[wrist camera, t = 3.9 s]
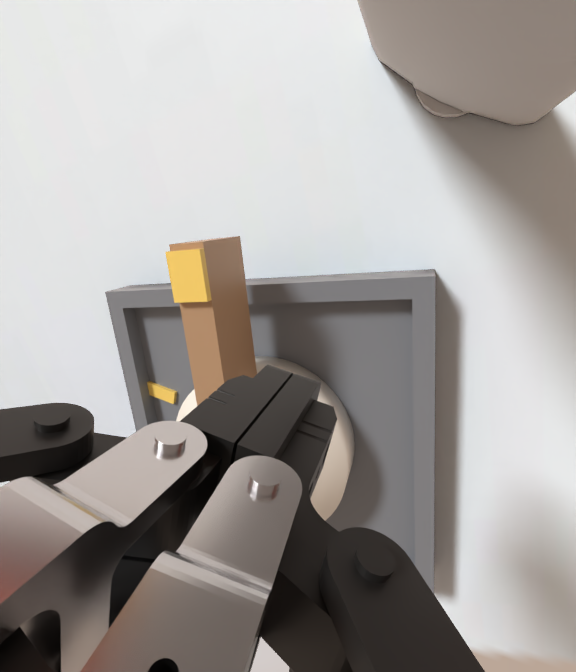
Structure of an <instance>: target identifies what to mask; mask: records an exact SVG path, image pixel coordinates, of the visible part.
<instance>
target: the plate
mask: <svg viewBox="0 0 576 672" xmlns="http://www.w3.org/2000/svg"><path fill="white" fill-rule="evenodd" d="M245 282H246V290H247V298H248V306H249V314H250V322H251V330H252V338H253V346H254V354H255V356H268V357H276V358H280V359H284V360H287V361H290V362H293V363H296V364H298V365H300V366H302V367H304V368H306V369H307V370H309V371H310V372H312V373H314V374H315V375H316V376H318V377H319V378H320V379H321V380H322V381H324V382H325V383H326V384H327V385H328V386H329V387H330V388H331V389H332V390H333V392H334V393H335V394H336V396H337V397H338V398H339V400H340V401H341V403H342V404H343V406H344V408H345V410H346V412H347V414H348V416H349V419H350V421H351V425H352V429H353V433H354V441H355V450H354V458H353V463H352V466H351V470H350V473H349V477H348V480H347V484H346V487H345V491H344V494H343V497H342V499H341V501H340V503H339V505H338V507H337V509H336V510H335V511H334V512H333V514H332V515H331V516H330V517H329V518H328V519H327V520H326V522H327V523H328V524H329V525H331V526H332V527H333V528H335V529H336V530H337V531H339V532H340V531H342V530H344V529H347V528H351V527H362V528H368V529H372V530H375V531H377V532H380V533H382V534H384V535H386V536H387V537H389V538H390V539H392V540H393V541H394V542H396V543H397V544H398V545H399V546H400V547H401V548H402V549H403V550H404V551H405V552H406V554H407V555H408V556H409V558H410V559H411V561H412V562H413V564H414V565H415V567H416V568H417V570H418V571H419V573H420V574H421V576H422V577H423V579H424V580H425V582H426V583H427V585H428V586H429V588H430V589H431V591H432V592H433V594H434V480H435V297H436V275H435V270H434V269H430V270H411V271H392V272H373V273H355V274H336V275H317V276H298V277H279V278H261V279H245ZM105 293H106V297H107V302H108V306H109V311H110V315H111V320H112V324H113V329H114V333H115V338H116V342H117V347H118V351H119V356H120V360H121V365H122V369H123V374H124V378H125V382H126V387H127V391H128V396H129V400H130V405H131V409H132V414H133V418H134V423H135V427H136V432H137V431H138V430H140V429H141V428H143V427H145V426H147V425H149V424H152V423H155V422H161V421H176V419H177V416H178V412H179V410H180V408H181V406H182V404H183V402H184V401H185V399H186V398H187V396H188V395H189V394H190V393H191V392H192V391H193V390H194V384H193V378H192V373H191V367H190V361H189V355H188V350H187V344H186V338H185V332H184V326H183V321H182V315H181V309H180V303H174V298H173V292H172V286H171V283H167V284H148V285H130V286H127V287H123V288H119V289H115V290H111V291H107V292H105Z"/></svg>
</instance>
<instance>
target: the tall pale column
mask: <svg viewBox="0 0 576 672" xmlns="http://www.w3.org/2000/svg"><path fill="white" fill-rule="evenodd" d="M358 4H359V7H360V10H361V13H362V17H363V20H364V23H365V26H366V29H367V32H368V35H369V38H370V42H371V45H372V47H373V49H374V51H375V53H376V55H377V57H378V59H379V61H381V62H382V63H383V64H385V65H386V66H387V67H389V68H390V69H391V70H393V71H394V72H396V73H397V74H398V75H400V76H401V77H402V78H404V79H405V80H407V81H408V82H409V83H411V84H412V85H413V87H414V88H415V90H416V94H417V98H418V99H419V101H420V102H421V104H422V105H423V107H424V108H425V109H427V110H428V111H429V112H431V113H432V114H433V115H437V116H441V117H444V118H448V117H459V116H461V115H464V114H466V113H472V114H475V115H479V116H482V117H486V118H489V119H493V120H496V121H500V122H503V123H507V124H510V125H514V126H518V125H525V124H531V123H535V122H536V121H537V120H539V119H540V118H542V117H543V116H544V115H546V114H547V113H549V111H551V110H552V109H553V108H554V107H556V106H557V105H558V104H559V103H561V102H562V101H563V100H565V99H566V98H568V97H569V96H570V95H571V94H573V93H574V92H575V91H576V0H358Z"/></svg>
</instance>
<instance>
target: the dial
mask: <svg viewBox="0 0 576 672" xmlns="http://www.w3.org/2000/svg"><path fill="white" fill-rule="evenodd" d="M169 246H170V251H168V252H166V258H167V264H168V269H169V275H170V281H171V286H172V292H173V298H174V303H180V309H181V315H182V321H183V326H184V332H185V338H186V344H187V350H188V355H189V361H190V367H191V373H192V378H193V384H194V390H193V391H192V392H191V393H190V394H189V395H188V396H187V398H186V399H185V401H184V402H183V404H182V406H181V408H180V410H179V412H178V416H177V419H176V421H178V422H179V421H181V420H182V419H183V418H184V417H185V416H186V415H188V414H189V413H190V412H191V411H192V410H193V409H195V408H196V407H197V406H198V405H199V404H200V403H201V402H203V401H204V400H205V399H206V398H207V399H208V397H209V396H210V395H211V394H212V393H213V392H214V391H217V389H218V388H219V387H220V386H221V385H222V384H224V383H225V382H226V381H227V380H229V379H232V378H235V377H238V376H242V375H245V376H248V377H251V378H254V377H255V376H256V375H257V374H258V373H259V372H260V371H261V370H262V369H263V368H264V367H265V366H266V365H271V366H274V367H277V368H280V369H283V370H286V371H289V372H292V373H293V374H298V375H301V376H304V377H306V378H309V379H312V380H315V381H318V382H321V387H320V392H319V395H318V399H317V401H319V402H322V403H325V404H328V405H330V406H333V407H334V410H335V413H336V417H337V422H336V425H335V428H334V432H333V435H332V439H331V442H330V445H329V449H328V452H327V456H326V459H325V462H324V466H323V469H322V471H321V474H320V476H319V479H318V481H317V484H316V486H315V489H314V491H313V493H312V496H311V499H310V500H311V503H312V505H313V507H314V508H315V510H316V511H317V513H318V514H319V515H320V516H321V517H322V518H323V519H324V520H325V521H326V520H327V519H328V518H329V517H330V516H331V515H332V514H333V512H334V511H335V510H336V509H337V507H338V505H339V503H340V501H341V499H342V497H343V494H344V491H345V487H346V484H347V480H348V477H349V473H350V470H351V466H352V463H353V458H354V450H355V441H354V433H353V429H352V425H351V421H350V419H349V416H348V414H347V412H346V410H345V408H344V406H343V404H342V403H341V401H340V400H339V398H338V397H337V396H336V394H335V393H334V392H333V390H332V389H331V388H330V387H329V386H328V385H327V384H326V383H325V382H324V381H322V380H321V379H320V378H319V377H318V376H316V375H315V374H314V373H312V372H310V371H309V370H307V369H306V368H304V367H302V366H300V365H298V364H296V363H293V362H290V361H287V360H284V359H280V358H276V357H268V356H255V354H254V346H253V338H252V330H251V322H250V314H249V306H248V298H247V290H246V282H245V274H244V266H243V258H242V250H241V242H240V236H238V237H227V238H216V239H207V240H200V241H193V242H185V243H178V244H171V245H169Z"/></svg>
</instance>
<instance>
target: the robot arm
mask: <svg viewBox="0 0 576 672" xmlns="http://www.w3.org/2000/svg"><path fill="white" fill-rule="evenodd" d="M320 387H321V382H318V381H315V380H312V379H309V378H306V377H304V376H301V375H298V374H293V373H292V372H289V371H286V370H283V369H280V368H277V367H274V366H271V365H266V366H265V367H264V368H263V369H262V370H261V371H260V372H259V373H258V374H257V375H256V376H255V377H254V378H251V377H248V376H245V375H242V376H238V377H235V378H232V379H229V380H227V381H226V382H225V383H224V384H222V385H221V386H220V387H219V388H218V389H217V391H214V392H213V393H212V394H211V395H210V396H209V397H208V399H207V398H206V399H205V400H204V401H203V402H201V403H200V404H199V405H198V406H197V407H196V408H195V409H193V410H192V411H191V412H190V413H189V414H188V415H186V416H185V417H184V418H183V419H182V420H181V421H179V422H178V421H161V422H155V423H152V424H149V425H147V426H145V427H143V428H141V429H140V430H138V431H137V432H135V433H134V434H132V435H131V436H129V437H128V438H126V437H119V436H112V435H106V434H99V433H94V417H93V415H92V414H91V413H90V412H89V411H88V410H87V409H85V408H83V407H81V406H78V405H74V404H68V403H50V404H41V405H33V406H25V407H17V408H9V409H1V410H0V482H5V481H10V482H9V483H7V484H5V485H4V486H2V487H0V672H250V670H251V667H252V664H253V660H254V658H255V654H256V651H257V648H258V644H259V641H260V638H261V637H262V638H263V639H264V640H265V641H266V643H267V644H268V645H269V646H270V647H271V648H272V649H273V650H274V651H275V652H276V653H277V654H278V655H279V656H280V657H281V658H282V659H283V661H284V662H285V663H286V664H287V665H288V666H289V667H290V669H289V672H485V671H484V670H483V668H482V667H481V665H480V664H479V662H478V661H477V659H476V658H475V656H474V655H473V653H472V652H471V650H470V649H469V647H468V646H467V644H466V643H465V641H464V640H463V638H462V636H461V635H460V633H459V632H458V630H457V629H456V627H455V626H454V624H453V623H452V621H451V620H450V618H449V617H448V615H447V614H446V612H445V611H444V609H443V608H442V606H441V605H440V603H439V602H438V600H437V599H436V597H435V595H434V594H433V592H432V591H431V589H430V588H429V586H428V585H427V583H426V582H425V580H424V579H423V577H422V576H421V574H420V573H419V571H418V570H417V568H416V567H415V565H414V564H413V562H412V561H411V559H410V558H409V556H408V555H407V554H406V552H405V551H404V550H403V549H402V548H401V547H400V546H399V545H398V544H397V543H396V542H394V541H393V540H392V539H390V538H389V537H387V536H386V535H384V534H382V533H380V532H377V531H375V530H372V529H368V528H362V527H351V528H347V529H344V530H342V531H340V532H339V531H337V530H336V529H335V528H333V527H332V526H331V525H329V524H328V523H327V522H326V521H325V520H324V519H323V518H322V517H321V516H320V515H319V514H318V513H317V511H316V510H315V508H314V507H313V505H312V503H311V500H310V499H311V496H312V493H313V491H314V489H315V486H316V484H317V481H318V479H319V476H320V474H321V471H322V469H323V466H324V462H325V459H326V456H327V452H328V449H329V445H330V442H331V439H332V435H333V432H334V428H335V425H336V422H337V417H336V413H335V410H334V407H333V406H330V405H328V404H325V403H322V402H319V401H317V399H318V395H319V392H320Z"/></svg>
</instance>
